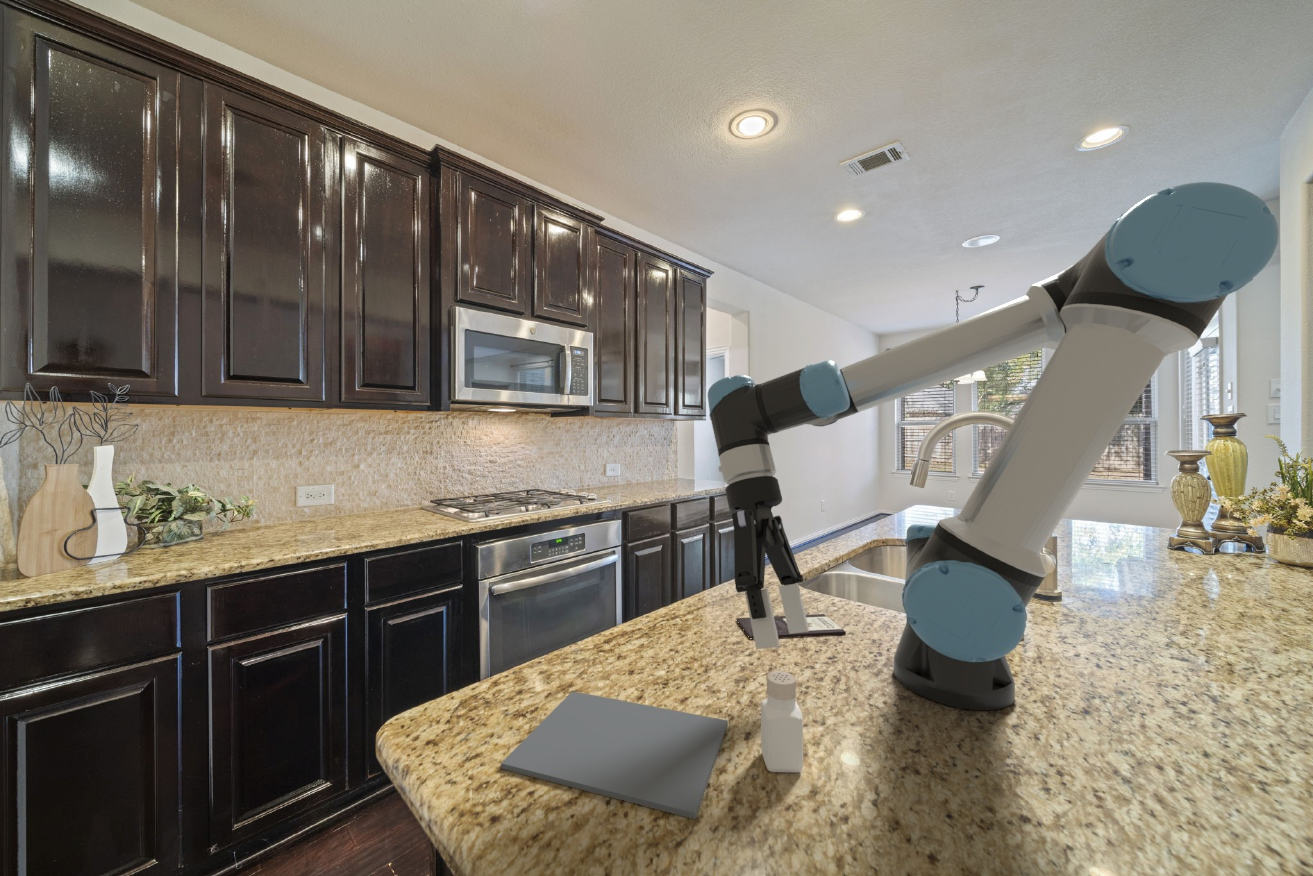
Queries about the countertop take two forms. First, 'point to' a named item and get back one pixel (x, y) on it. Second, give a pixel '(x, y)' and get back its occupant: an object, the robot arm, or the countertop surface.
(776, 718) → the salt shaker
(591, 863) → the countertop surface
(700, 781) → the rubber mat
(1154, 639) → the countertop surface
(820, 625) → the chocolate bar
